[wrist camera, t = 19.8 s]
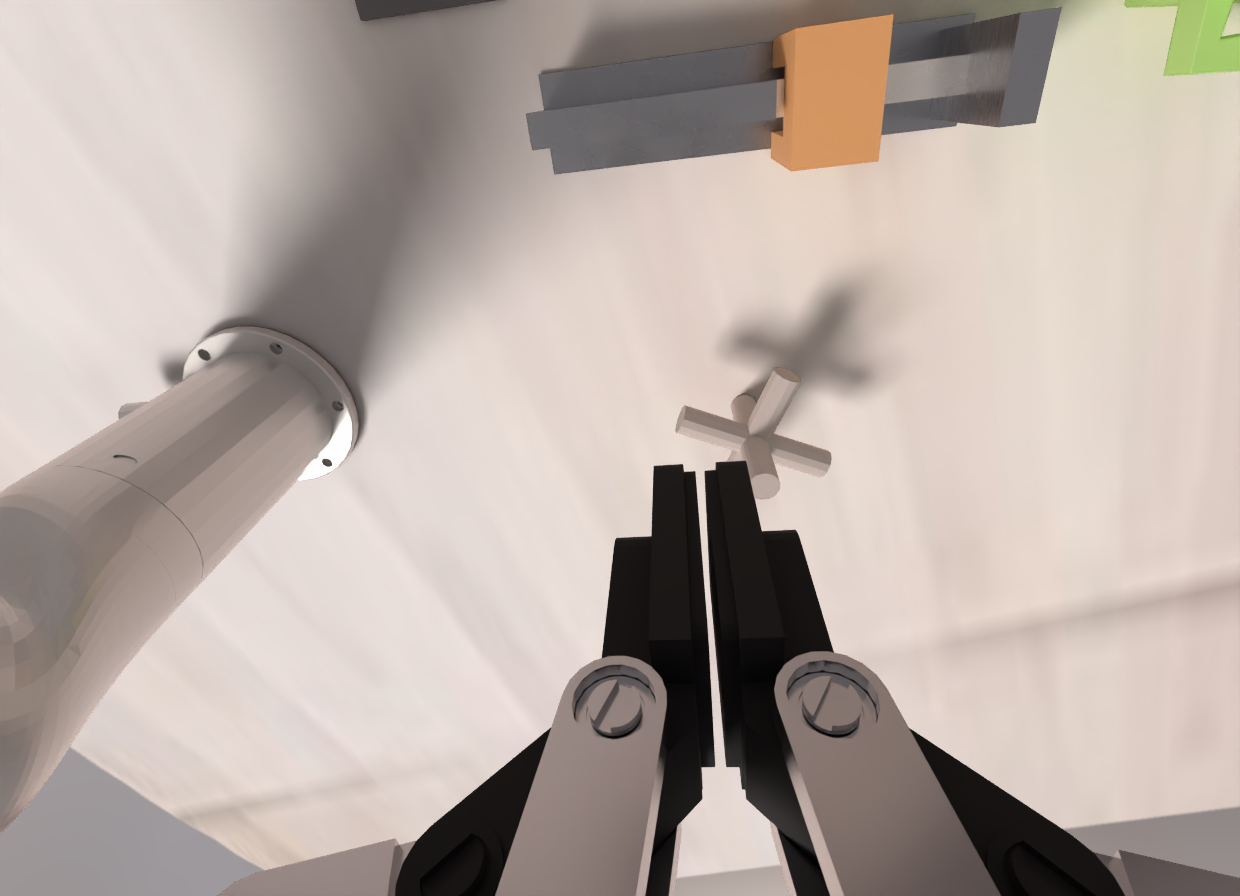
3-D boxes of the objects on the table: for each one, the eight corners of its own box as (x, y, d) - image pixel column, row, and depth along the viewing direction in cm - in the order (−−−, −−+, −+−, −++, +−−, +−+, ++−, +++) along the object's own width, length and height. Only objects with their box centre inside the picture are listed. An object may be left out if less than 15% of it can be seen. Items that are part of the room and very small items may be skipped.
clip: (770, 157, 33) (791, 171, 28) (772, 38, 30) (795, 28, 25) (843, 149, 33) (878, 161, 27) (852, 27, 30) (893, 14, 24)
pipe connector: (705, 320, 39) (716, 385, 30) (841, 366, 40) (889, 441, 31) (655, 441, 44) (652, 526, 35) (777, 479, 45) (803, 570, 36)
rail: (555, 173, 35) (528, 194, 28) (539, 74, 32) (505, 71, 25) (954, 125, 32) (1032, 135, 25) (972, 13, 29) (1065, -9, 23)
